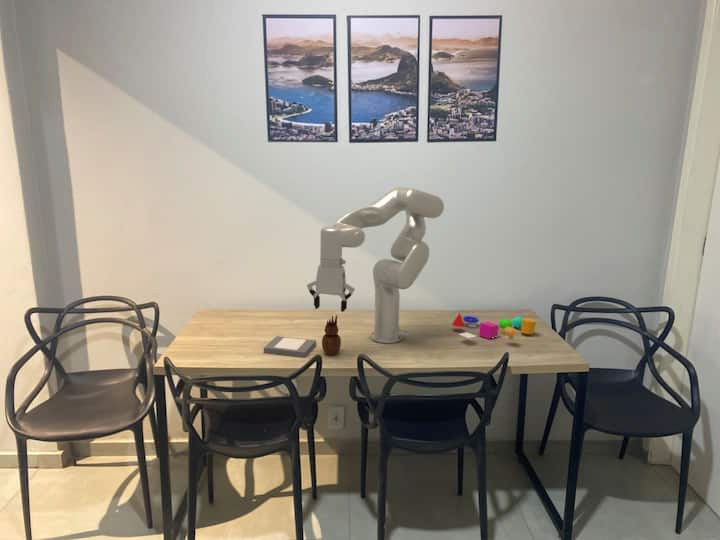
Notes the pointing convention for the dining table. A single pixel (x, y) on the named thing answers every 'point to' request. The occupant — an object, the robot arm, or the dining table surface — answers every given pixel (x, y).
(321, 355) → the dining table surface
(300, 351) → the display base
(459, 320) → the shape set
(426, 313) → the dining table surface
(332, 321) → the wooden figurine
